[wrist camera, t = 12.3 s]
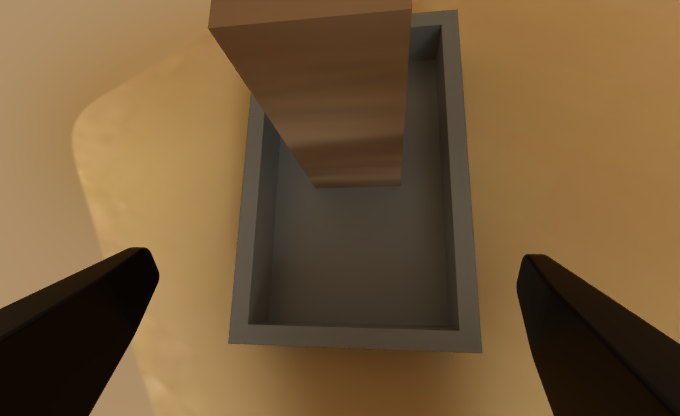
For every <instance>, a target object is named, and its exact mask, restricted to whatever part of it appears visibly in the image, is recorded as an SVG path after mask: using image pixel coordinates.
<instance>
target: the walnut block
mask: <svg viewBox="0 0 680 416" xmlns="http://www.w3.org/2000/svg"><path fill="white" fill-rule="evenodd" d="M411 12H412V4H411V0H212V1H211V9H210V17H209V25H208V29H209V30H210V32H211V33H212V35H213V36H214V38H215V39H216V41H217V42H218V44H219V45H220V47H221V48H222V50H223V51H224V53H225V54H226V55H227V57H228V58H229V60H230V61H231V63H232V64H233V66H234V67H235V69H236V70H237V72H238V73H239V75H240V76H241V78H242V79H243V81H244V82H245V84H246V85H247V87H248V88H249V90H250V91H251V93H252V94H253V96H254V97H255V99H256V100H257V102H258V103H259V105H260V106H261V108H262V109H263V110H264V112H265V113H266V115H267V116H268V118H269V119H270V121H271V122H272V124H273V125H274V127H275V128H276V130H277V131H278V133H279V134H280V136H281V137H282V139H283V140H284V142H285V143H286V145H287V146H288V148H289V149H290V151H291V152H292V154H293V155H294V157H295V158H296V160H297V161H298V162H299V164H300V165H301V167H302V168H303V170H304V171H305V173H306V174H307V176H308V177H309V179H310V180H311V182H312V183H313V185H314V186H315V188H348V187H382V186H400V184H401V168H402V153H403V137H404V121H405V106H406V90H407V75H408V59H409V43H410V28H411Z"/></svg>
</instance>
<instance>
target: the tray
mask: <svg viewBox="0 0 680 416" xmlns="http://www.w3.org/2000/svg"><path fill="white" fill-rule="evenodd" d="M228 344H253V345H279V346H305V347H332V348H358V349H384V350H410V351H436V352H463V353H482V343H481V330H480V316H479V302H478V288H477V274H476V260H475V246H474V233H473V219H472V205H471V191H470V177H469V163H468V150H467V136H466V122H465V108H464V94H463V80H462V66H461V53H460V39H459V25H458V11H457V10H448V11H437V12H425V13H414V14H411V28H410V43H409V59H408V75H407V90H406V106H405V121H404V137H403V153H402V168H401V184H400V186H382V187H348V188H315V186H314V185H313V183H312V182H311V180H310V179H309V177H308V176H307V174H306V173H305V171H304V170H303V168H302V167H301V165H300V164H299V162H298V161H297V160H296V158H295V157H294V155H293V154H292V152H291V151H290V149H289V148H288V146H287V145H286V143H285V142H284V140H283V139H282V137H281V136H280V134H279V133H278V131H277V130H276V128H275V127H274V125H273V124H272V122H271V121H270V119H269V118H268V116H267V115H266V113H265V112H264V110H263V109H262V108H261V106H260V105H259V103H258V102H257V100H256V99H255V97H254V96H253V94H252V93H251V98H250V109H249V120H248V131H247V142H246V153H245V164H244V175H243V186H242V198H241V209H240V220H239V231H238V242H237V253H236V264H235V275H234V286H233V297H232V308H231V319H230V330H229V341H228Z"/></svg>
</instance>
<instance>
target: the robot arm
mask: <svg viewBox="0 0 680 416" xmlns="http://www.w3.org/2000/svg"><path fill="white" fill-rule="evenodd" d="M158 281H159V271H158V269H157V266H156V264H155V261H154V259H153V257H152V254H151V252H150V251H149V250H148V249H147V248H144V247H131V248H128V249H126V250H124V251H122V252H119V253H117V254H115V255H113V256H111V257H109V258H107V259H105V260H103V261H101V262H98V263H96V264H94V265H92V266H90V267H88V268H86V269H84V270H81V271H79V272H77V273H75V274H73V275H71V276H69V277H67V278H65V279H63V280H60V281H58V282H56V283H54V284H52V285H50V286H48V287H46V288H43V289H41V290H39V291H37V292H35V293H33V294H31V295H29V296H27V297H24V298H22V299H20V300H18V301H16V302H14V303H12V304H10V305H8V306H5V307H3V308H1V309H0V416H89V414H90V413H91V411H92V409H93V408H94V406H95V404H96V402H97V401H98V399H99V397H100V395H101V393H102V392H103V390H104V388H105V386H106V385H107V383H108V381H109V379H110V378H111V376H112V374H113V372H114V370H115V369H116V367H117V365H118V364H119V361H120V360H121V358H122V357H123V355H124V353H125V351H126V349H127V348H128V346H129V344H130V342H131V340H132V339H133V337H134V335H135V333H136V331H137V329H138V327H139V324H140V322H141V320H142V318H143V315H144V313H145V311H146V309H147V306H148V304H149V302H150V300H151V297H152V295H153V293H154V291H155V288H156V286H157V284H158ZM517 294H518V299H519V303H520V307H521V311H522V315H523V320H524V324H525V328H526V332H527V337H528V341H529V345H530V349H531V353H532V356H533V359H534V362H535V365H536V368H537V371H538V374H539V376H540V379H541V382H542V385H543V387H544V390H545V393H546V395H547V398H548V401H549V404H550V406H551V409H552V412H553V415H554V416H680V344H679V343H677V342H676V341H674V340H673V339H671V338H670V337H668V336H667V335H665V334H664V333H662V332H661V331H659V330H658V329H656V328H655V327H653V326H652V325H650V324H649V323H647V322H646V321H644V320H643V319H641V318H640V317H638V316H637V315H635V314H634V313H632V312H631V311H629V310H628V309H626V308H625V307H623V306H622V305H620V304H619V303H617V302H616V301H614V300H613V299H611V298H610V297H608V296H607V295H605V294H604V293H602V292H601V291H599V290H598V289H596V288H595V287H593V286H592V285H590V284H589V283H587V282H586V281H584V280H583V279H581V278H580V277H578V276H577V275H575V274H574V273H572V272H571V271H569V270H568V269H566V268H565V267H563V266H562V265H560V264H559V263H557V262H556V261H554V260H553V259H551V258H550V257H548V256H546V255H543V254H526V255H525V256H524V257H523V259H522V262H521V267H520V271H519V275H518V280H517Z"/></svg>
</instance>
